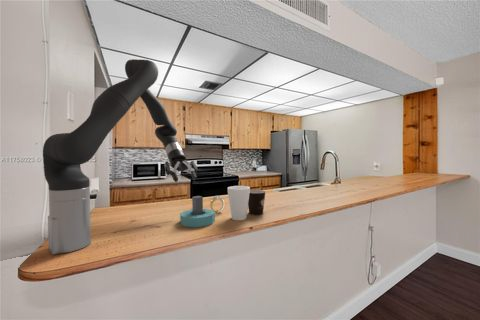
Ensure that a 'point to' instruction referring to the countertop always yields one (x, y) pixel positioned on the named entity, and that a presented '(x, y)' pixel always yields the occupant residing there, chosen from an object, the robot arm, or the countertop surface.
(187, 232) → the countertop surface
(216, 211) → the bracelet
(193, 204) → the gray rectangular block
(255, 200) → the coffee mug
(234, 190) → the foam cup
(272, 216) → the countertop surface
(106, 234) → the countertop surface
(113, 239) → the countertop surface
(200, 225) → the teal ring
